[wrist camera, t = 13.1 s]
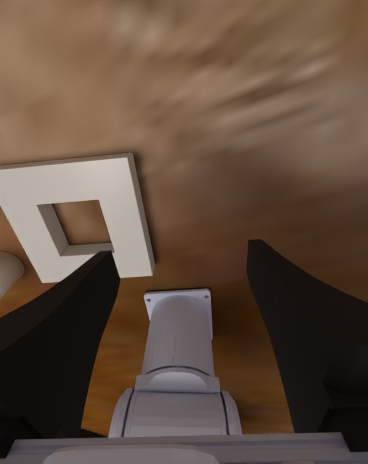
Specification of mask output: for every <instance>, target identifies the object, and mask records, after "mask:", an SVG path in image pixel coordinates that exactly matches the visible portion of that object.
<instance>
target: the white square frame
mask: <svg viewBox="0 0 368 464" xmlns="http://www.w3.org/2000/svg"><path fill="white" fill-rule="evenodd" d="M97 199H99V202H100V205H101V208H102V212H103V215H104V218H105V221H106V225H107V228H108V231H109V235H110V238H111V241H112V242H111V243H98V244H85V245H72V246H69V244H68V241H67V239H66V237H65V234H64V232H63V230H62V227H61V225H60V222H59V220H58V218H57V215H56V213H55V210H54V208H53V206H52V203H63V202H74V201H86V200H97ZM0 206H1V208H2V210H3V211H4V213H5V215H6V217H7V219H8V221H9V222H10V224H11V226H12V228H13V230H14V232H15V233H16V235H17V237H18V239H19V241H20V243H21V244H22V246H23V248H24V250H25V252H26V254H27V255H28V257H29V259H30V261H31V263H32V265H33V266H34V268H35V270H36V272H37V274H38V276H39V277H40V279H41V281H42V283H48V282H60V281H61V280H63V279H64V278H66V277H67V276H68V275H70V274H71V273H72V272H73V271H75V270H76V269H77V268H79V267H80V266H81V265H82V264H84V263H85V262H86V261H87V260H89V259H90V258H91V257H92V256H94V255H95V254H96V253H98V252H99V251H107V250H111V251H112V254H113V257H114V260H115V264H116V267H117V270H118V273H119V276H120V278H124V277H139V276H153V271H154V266H155V261H154V256H153V252H152V247H151V242H150V237H149V232H148V227H147V222H146V217H145V212H144V207H143V202H142V197H141V192H140V187H139V182H138V177H137V172H136V167H135V162H134V157H133V153H122V154H112V155H102V156H92V157H82V158H72V159H62V160H52V161H42V162H32V163H22V164H12V165H1V166H0Z"/></svg>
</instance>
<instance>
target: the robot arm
mask: <svg viewBox="0 0 368 464" xmlns="http://www.w3.org/2000/svg"><path fill="white" fill-rule="evenodd" d="M247 275H248V279H249V283H250V287H251V290H252V292H253V295H254V297H255V300H256V302H257V305H258V307H259V310H260V312H261V315H262V317H263V320H264V322H265V325H266V327H267V330H268V333H269V336H270V339H271V343H272V346H273V350H274V353H275V357H276V360H277V364H278V368H279V371H280V375H281V379H282V383H283V387H284V391H285V395H286V399H287V403H288V407H289V411H290V415H291V419H292V424H293V428H294V432H295V433H286V434H242V431H241V425H240V419H239V414H238V410H237V406H236V404H235V401H234V400H233V398H232V397H231V396H230V395H229V393H228V392H227V391H226V390H221V391H220V385H219V378H218V377H215V375H214V365H213V355H212V345H211V340H212V339H213V333H212V313H211V294H210V290H209V289H192V290H175V291H159V292H146V293H145V294H144V299H145V303H146V307H147V311H148V315H149V319H150V326H149V331H148V337H147V343H146V349H145V355H144V361H143V367H142V373H141V375H137V377H136V383H135V388H127V389H126V391H125V392H124V393H123V394H122V395H121V396H120V398H119V400H118V402H117V404H116V407H115V410H114V414H113V418H112V422H111V426H110V431H109V436H108V438H79V434H80V429H81V423H82V417H83V412H84V407H85V402H86V397H87V392H88V388H89V383H90V379H91V375H92V371H93V366H94V362H95V358H96V355H97V351H98V347H99V343H100V340H101V337H102V334H103V332H104V329H105V327H106V324H107V321H108V319H109V316H110V313H111V311H112V308H113V305H114V303H115V300H116V297H117V293H118V289H119V284H120V276H119V273H118V270H117V267H116V264H115V260H114V257H113V254H112V251H111V250H107V251H99V252H98V253H96V254H95V255H94V256H92V257H91V258H90V259H89V260H87V261H86V262H85V263H84V264H82V265H81V266H80V267H79V268H77V269H76V270H75V271H73V272H72V273H71V274H70V275H68V276H67V277H66V278H64V279H63V280H61V281H60V282H59V283H57V284H56V285H55V286H53V287H52V288H50V289H49V290H47V291H46V292H44V293H43V294H41V295H40V296H38V297H36V298H35V299H33V300H32V301H30V302H28V303H27V304H25V305H23V306H21V307H19V308H17V309H16V310H14V311H12V312H10V313H8V314H7V315H5V316H3V317H1V318H0V464H368V303H367V302H365V301H362V300H360V299H357V298H355V297H353V296H351V295H348V294H346V293H344V292H342V291H340V290H338V289H336V288H334V287H332V286H330V285H328V284H326V283H324V282H322V281H320V280H318V279H317V278H315V277H313V276H311V275H310V274H308V273H306V272H305V271H303V270H302V269H300V268H299V267H297V266H296V265H294V264H293V263H291V262H290V261H288V260H287V259H286V258H284V257H283V256H282V255H280V254H279V253H278V252H276V251H275V250H274V249H273V248H271V247H270V246H269V245H267V244H266V243H265V242H264V241H262V240H261V239H257V240H248V256H247ZM206 295H208V296H206Z"/></svg>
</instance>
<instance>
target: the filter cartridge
mask: <svg viewBox="0 0 368 464" xmlns="http://www.w3.org/2000/svg"><path fill="white" fill-rule="evenodd" d="M24 272H25V268H24V265H23V264H22V262H21V261H20V260H19V259H18V258H17V257H15V256H14V255H12V254H10V253H7V252H3V251H0V299H1V298H2V297H3V296H4V295H5V293H6V292H7V291H8V290H9V289H10V288H11V287H12V286H13V285H14V284H15V283H16V282H17V281H18V280H19V279H20V278H21V277H22V276H23V275H24Z"/></svg>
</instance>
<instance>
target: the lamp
mask: <svg viewBox="0 0 368 464" xmlns="http://www.w3.org/2000/svg"><path fill="white" fill-rule="evenodd" d="M79 438H108V437H105V436H102V435H99V434H96V433H93V432H89V431H86V430H83V429H80V434H79Z"/></svg>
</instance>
